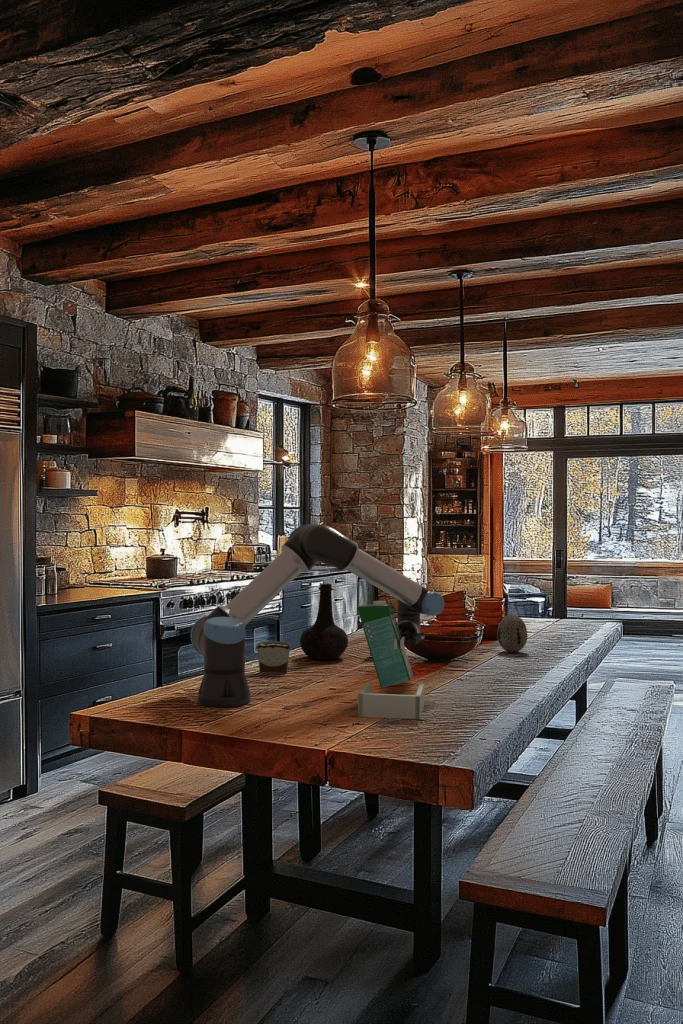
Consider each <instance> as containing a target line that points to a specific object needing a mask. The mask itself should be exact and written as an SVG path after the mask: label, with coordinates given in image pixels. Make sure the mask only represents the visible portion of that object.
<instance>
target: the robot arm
mask: <svg viewBox="0 0 683 1024" xmlns="http://www.w3.org/2000/svg"><path fill="white" fill-rule="evenodd" d="M318 563H320V564H325V565H328V566H331V567H334V568H336V569H338V570H339V571H341V572H342V571H345V570H346V571H348V572H349V573H351V574H353V575H355V576H356V577H358V578H360V579H361V580H363V581H366V582H367V583H369V584H370V585H372V586H373V587H375V588H378V589H379V590H381V591H383V592H384V593H386V594H388V595H390V596H392V597H393V598H395V599H396V600H397V604H396V605H397V619H396V621H397V624H398V627H399V631H400V634H401V637H402V638H401V640H400V649H403V648H404V647H405V648H406V647H410V646H412V647H413V646H416V645H418V644H419V643H422V642H425V632H421V631H422V625H421V615H426V616H428V617H431V616H433V617H435V616H438V615H440V614H441V613H442V612H443V611H444V608H445V599H444V597H443V596H442V594H441V593H438V592H436V591H434V590H429V589H428V588H426V587H424V586H423V585H420V583H419V582H418V581H414V580H413V579H411V578H409V577H408V576H406V575H404V574H402V573H401V572H399V571H398V570H396V569H394V568H393V567H391V566H389V565H387V564H386V563H384V562H382V561H381V560H379V559H377V558H376V557H375V556H372V555H370V554H369V553H367V552H366V551H364V550H362V549H360V548H359V545H358V543H357V542H355V541H354V540H352V539H350V538H349V537H347V536H346V535H344V534H343V533H341V532H340V531H338V530H336V529H335V528H333V527H331V526H329V525H325V524H312V523H308V524H307V523H306V524H303V525H300V526H298V527H296V528H295V529H293V530H292V531H291V532H290V534H289V537H288V539H287V540H286V542H284V544H283V545H281V553H280V554H279V555H277V557H276V558H275V559H273V560H272V561H271V562H270V564H268V565H267V566H266V567H265V568H264V569H262V571H261V572H259V574H258V575H257V576H255V577H254V579H253V580H251V581H250V582H249V583H248V584H247V585H246V586H245V587H244V588H243V589H242V590H240V591H239V592H238V594H236V595H235V596H234V597H233V598H232V599H231V600H230V601H228V603H227V604H226V605H217V606H216V607H215V608H214V609H213V610H212V611H211V612H210V613H209V614H208V615H205V616H202V617H200V618H199V619H197V620H196V621H195V622H194V624H193V625H192V627H191V629H190V641H191V644H192V646H193V648H194V649H195V651H197V653H198V654H200V655H202V656H203V677H202V679H201V683H200V686H199V689H198V692H197V696H196V697H197V698H196V699H197V704H199V705H202V706H204V707H205V706H206V707H213V708H214V707H215V708H216V707H218V708H225V707H226V708H227V707H228V708H229V707H238V706H243V705H247V704H249V703H250V702H251V701H252V697H251V696H252V694H251V691H250V686H249V683H248V680H247V677H246V663H245V662H246V635H247V631H246V625H248V624H249V623H250V622H251V621H253V619H254V618H256V616H257V615H258V614H259V613H260V612H261V611H262V610H263V609H264V608H266V607H267V605H268V604H270V602H272V601H273V600H274V599H275V598H276V597H277V596H278V595H279V594H280V593H281V592H282V591H283V590H284V589H285V588H286V587H287V586H288V585H289V584H291V583H292V581H293V580H295V579H296V578H297V577H298V576H299V575H300V574H307V573H309V572H310V571H311V570H312V569H313V568H314V567H315V566H316V565H317V564H318ZM394 649H397V639H394Z"/></svg>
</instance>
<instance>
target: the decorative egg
mask: <svg viewBox="0 0 683 1024" xmlns="http://www.w3.org/2000/svg"><path fill="white" fill-rule="evenodd" d="M496 634H497V635H496V637H497V642H498V644H499V646H500V647H501V648H502V649H503V650H505V651H506V652H507V653H519V652H520V651H522V649H524V647H525V646H526V644H527V642H528V629H527V625H526V624H525V622H524V620H523V618H521V617H520V616H518V615H516V614H511V613H510V614H507V615H505V616H504V617H503V618H502V619H501V620H500V622H499V624H498V627H497V633H496Z"/></svg>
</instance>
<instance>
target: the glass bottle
mask: <svg viewBox="0 0 683 1024" xmlns="http://www.w3.org/2000/svg"><path fill="white" fill-rule="evenodd" d="M332 585H333V584H332V583H320V584H319V587H318V590H319V601H318V608H317V614H316V620H315V622H314V623H313V624H312V625H311V626H309V627H307V628H306V629H305V630H304V631H302V633H301V635H300V638H299V645H300V648H301V650H302V652H303V653H304V654H305V655H306V656H307V657H309V658H311V659H315V660H319V659H322V660H323V661H329V660H330V659H332V660H336V659H338V658H340V657H341V656H342V655H343V654H344V653H345V652H346V650H347V647H348V646H349V645H348V644H349V638H348V634H347V633H346V631H345V630H344V629H343V628H341V627H340V626H338V625H336V623H335V620H334V614H333V600H332V599H333V597H332V591H333V590H335V588H334V587H332ZM322 660H321V661H322Z"/></svg>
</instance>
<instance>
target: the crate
mask: <svg viewBox="0 0 683 1024" xmlns="http://www.w3.org/2000/svg"><path fill="white" fill-rule="evenodd" d="M415 693H416V694H412V695H411V694H392V693H391V694H390V693H372V681H370V680H369V681H368V680H367V681H366V682H365V684H364V685H363V687H362V688H361V689H360V690H359V692H358V693H357V717H359V718H360V717H364V718H366V717H367V718H380V719H381V718H384V719H385V718H386V719H402V720H404V719H405V720H421V717H422V714H423V711H424V708H423V707H425V683H419V685H418V688H417V691H416V692H415Z"/></svg>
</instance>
